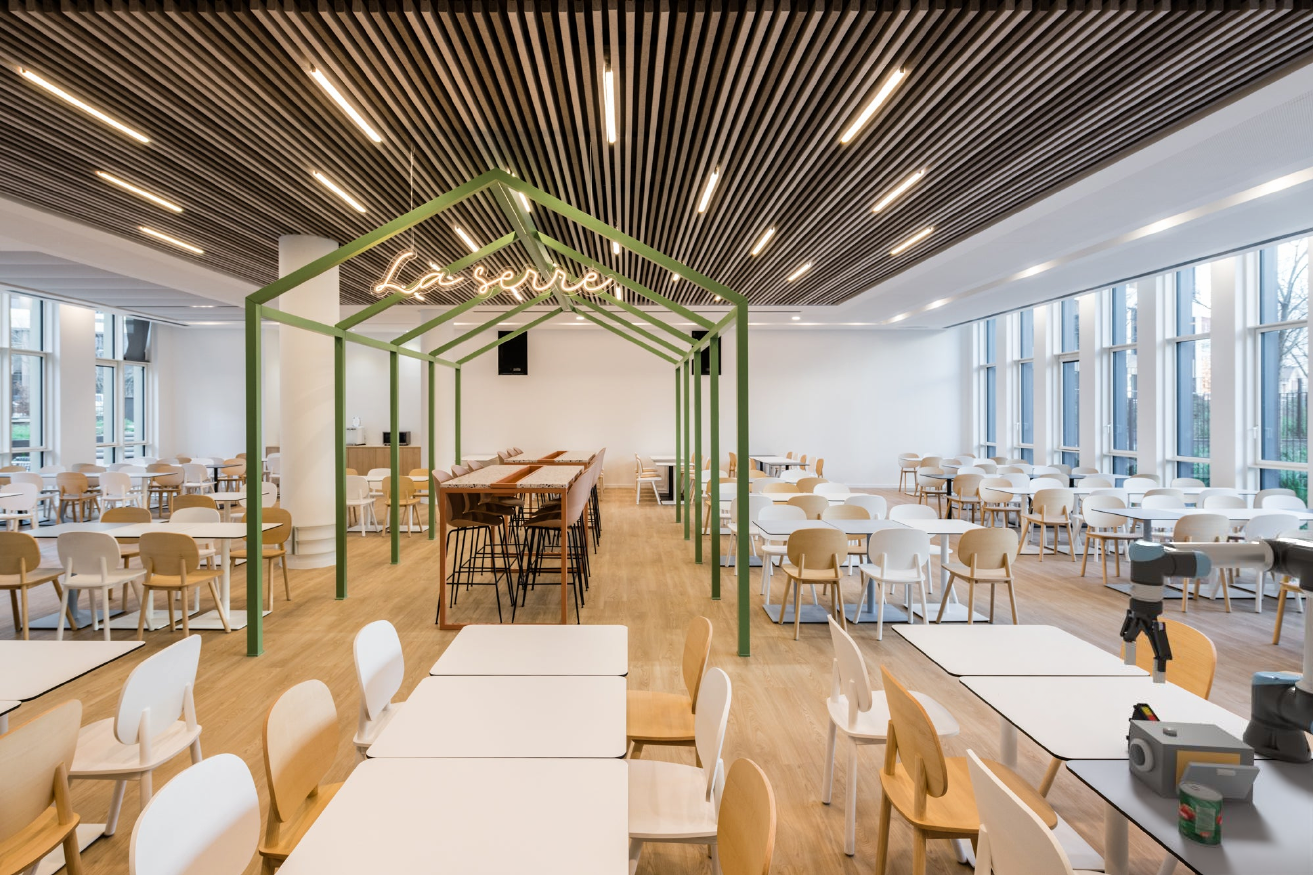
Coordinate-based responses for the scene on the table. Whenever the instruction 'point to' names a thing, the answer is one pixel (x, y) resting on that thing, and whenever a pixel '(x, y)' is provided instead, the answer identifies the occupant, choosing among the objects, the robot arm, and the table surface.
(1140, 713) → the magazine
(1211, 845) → the canned tomato
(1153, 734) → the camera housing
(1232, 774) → the door
